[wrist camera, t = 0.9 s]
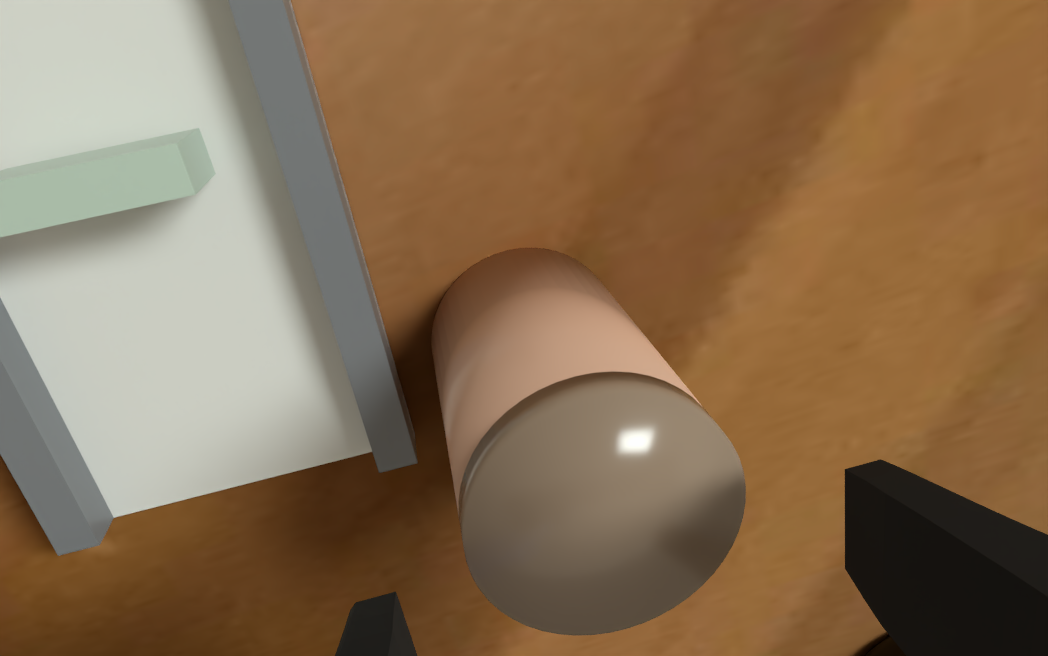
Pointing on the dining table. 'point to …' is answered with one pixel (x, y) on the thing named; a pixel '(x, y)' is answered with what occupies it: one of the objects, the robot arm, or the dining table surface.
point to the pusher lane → (182, 270)
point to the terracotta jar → (575, 450)
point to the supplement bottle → (886, 649)
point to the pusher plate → (103, 181)
